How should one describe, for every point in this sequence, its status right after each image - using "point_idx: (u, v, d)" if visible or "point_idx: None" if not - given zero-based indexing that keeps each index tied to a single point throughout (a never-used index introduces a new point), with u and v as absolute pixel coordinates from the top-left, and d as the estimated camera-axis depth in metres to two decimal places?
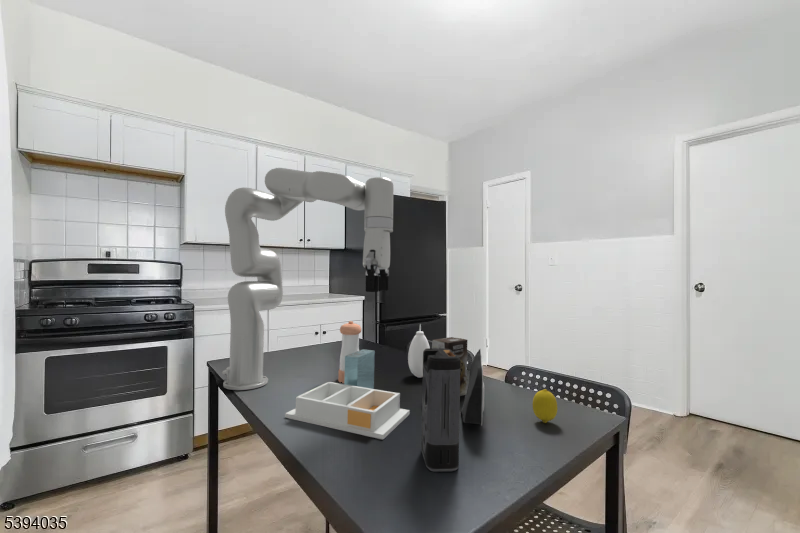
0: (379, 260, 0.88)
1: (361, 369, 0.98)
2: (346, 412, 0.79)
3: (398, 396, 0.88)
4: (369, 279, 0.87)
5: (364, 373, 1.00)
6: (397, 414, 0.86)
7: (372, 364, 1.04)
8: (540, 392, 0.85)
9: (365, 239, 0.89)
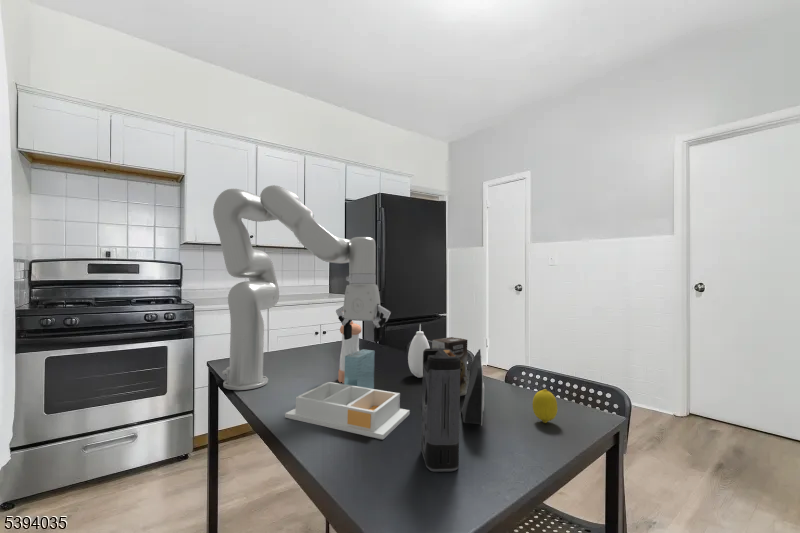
0: None
1: (361, 369, 0.98)
2: (346, 412, 0.79)
3: (398, 396, 0.88)
4: (380, 330, 0.99)
5: (364, 373, 1.00)
6: (397, 414, 0.86)
7: (372, 364, 1.04)
8: (540, 392, 0.85)
9: (373, 294, 0.98)
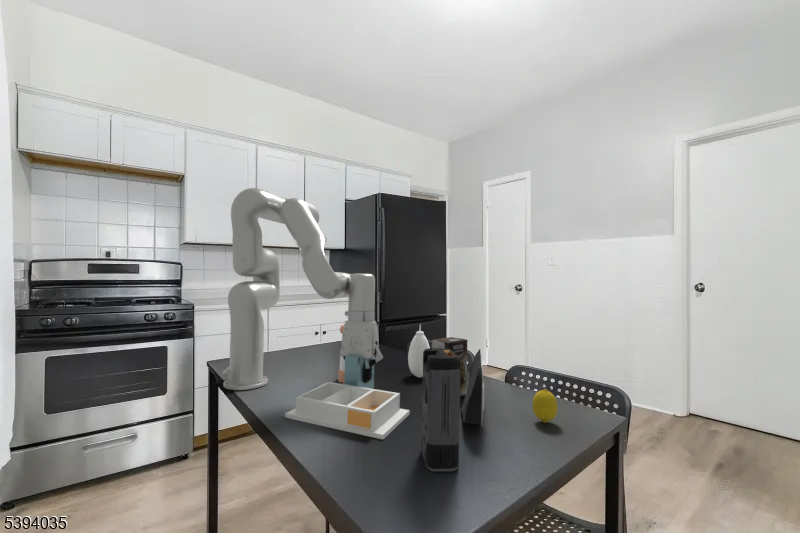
0: None
1: (361, 369, 0.98)
2: (346, 412, 0.79)
3: (398, 396, 0.88)
4: (369, 371, 1.00)
5: None
6: (397, 414, 0.86)
7: None
8: (540, 392, 0.85)
9: (371, 332, 0.98)
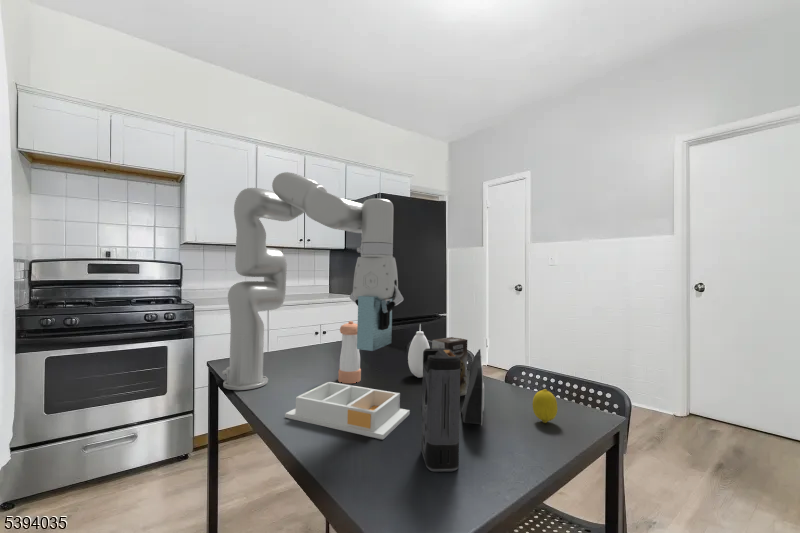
0: None
1: (377, 312, 0.81)
2: (346, 412, 0.79)
3: (398, 396, 0.88)
4: (387, 316, 0.83)
5: None
6: (397, 414, 0.86)
7: None
8: (540, 392, 0.85)
9: (390, 268, 0.81)
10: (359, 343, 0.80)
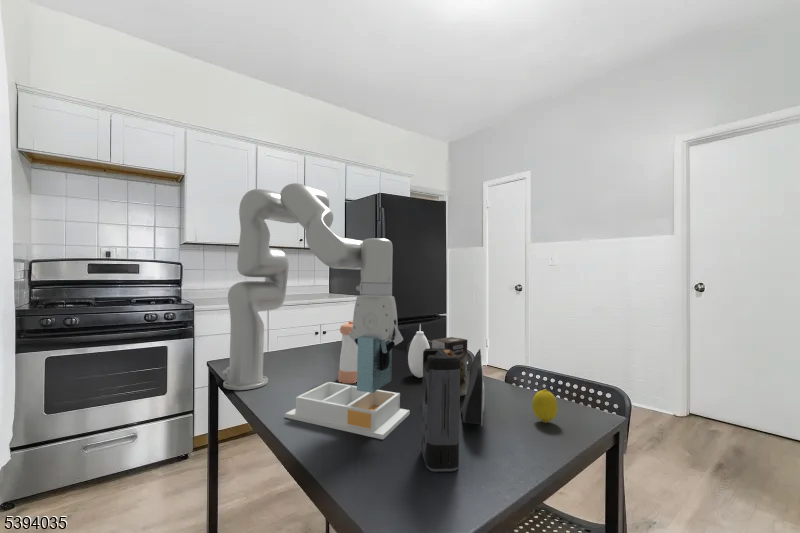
0: None
1: (377, 353, 0.81)
2: (346, 412, 0.79)
3: (398, 396, 0.88)
4: (387, 356, 0.82)
5: None
6: (397, 414, 0.86)
7: None
8: (540, 392, 0.85)
9: (390, 309, 0.81)
10: (359, 385, 0.80)
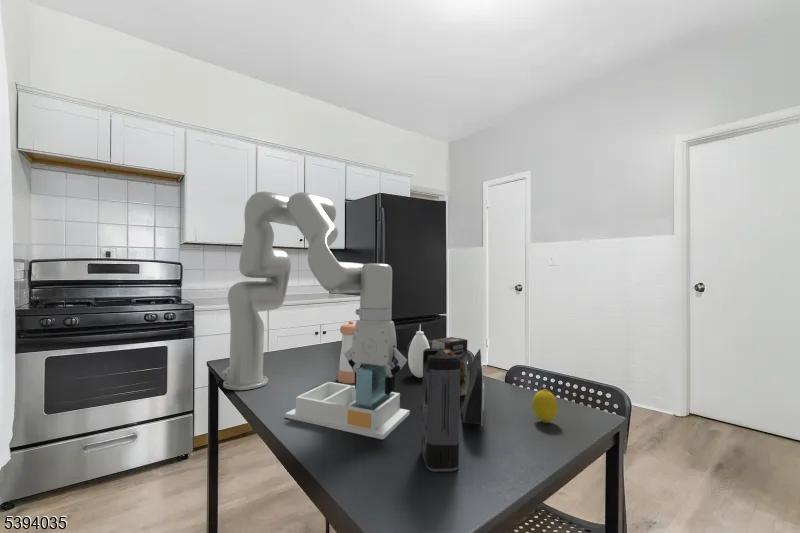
0: None
1: (375, 385, 0.81)
2: (346, 412, 0.79)
3: (398, 396, 0.88)
4: (392, 380, 0.82)
5: (379, 389, 0.82)
6: (397, 414, 0.86)
7: None
8: (540, 392, 0.85)
9: (389, 335, 0.81)
10: None
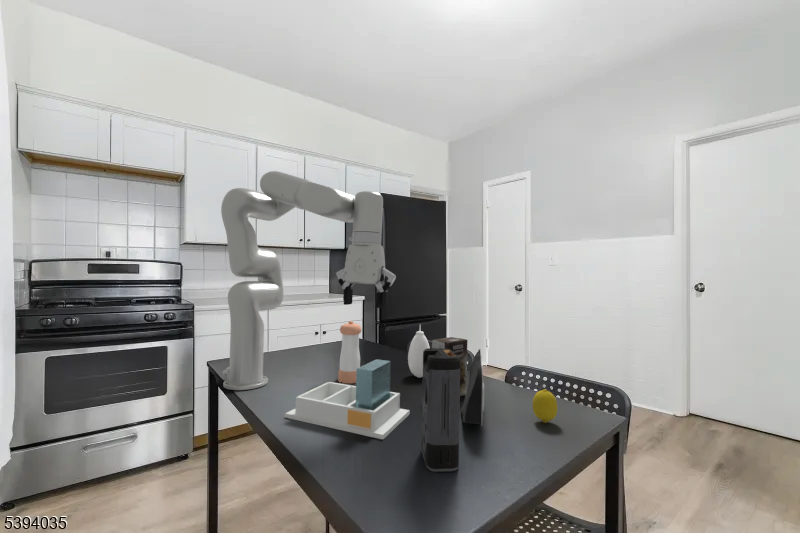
0: None
1: (375, 385, 0.81)
2: (346, 412, 0.79)
3: (398, 396, 0.88)
4: (383, 295, 0.89)
5: (379, 389, 0.82)
6: (397, 414, 0.86)
7: (388, 377, 0.87)
8: (540, 392, 0.85)
9: (378, 255, 0.88)
10: None
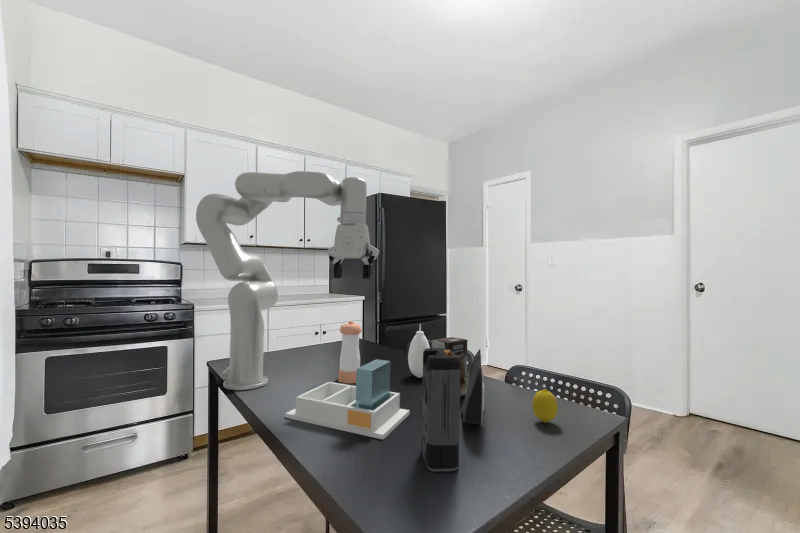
0: None
1: (375, 385, 0.81)
2: (346, 412, 0.79)
3: (398, 396, 0.88)
4: (368, 268, 1.02)
5: (379, 389, 0.82)
6: (397, 414, 0.86)
7: (388, 377, 0.87)
8: (540, 392, 0.85)
9: (363, 232, 1.01)
10: None
